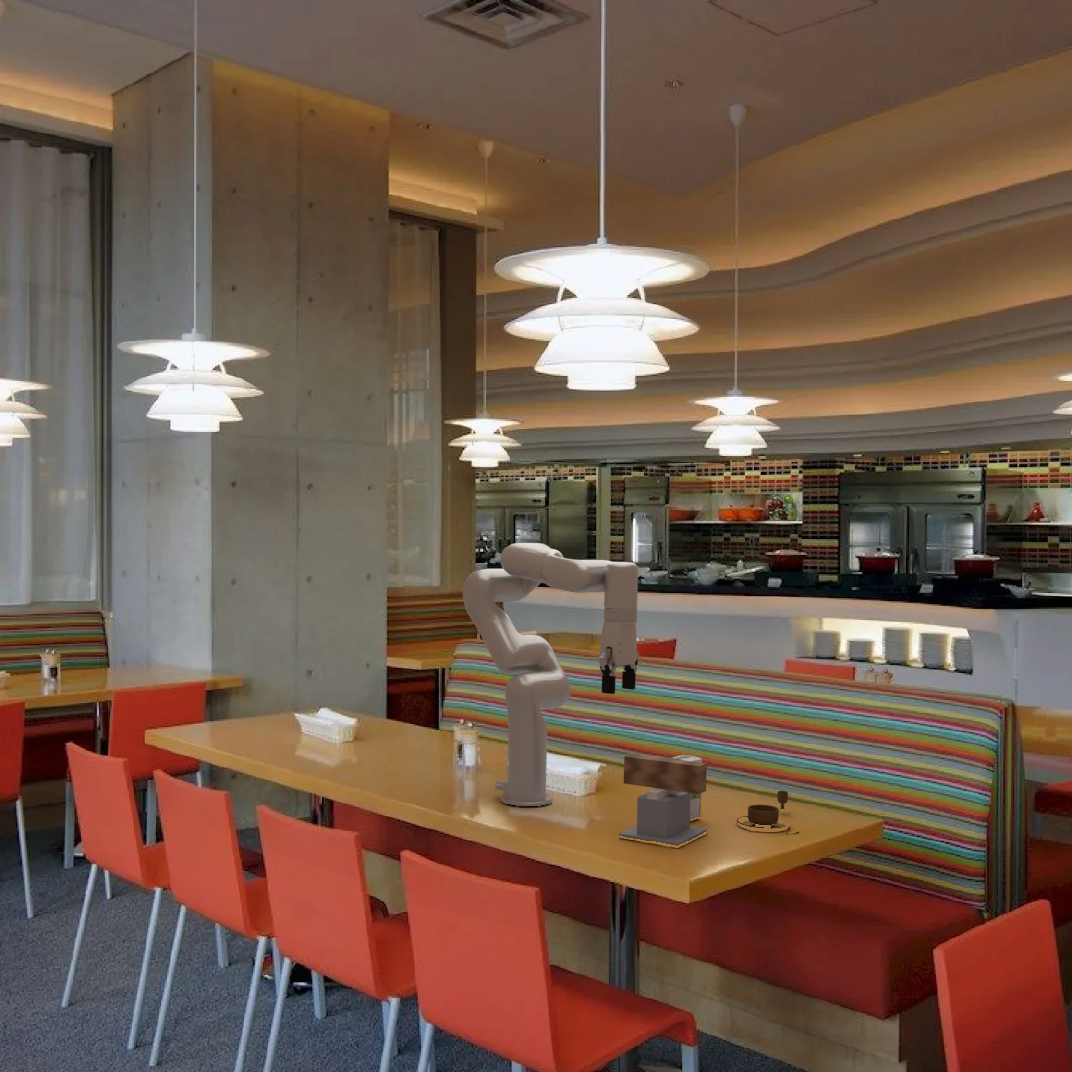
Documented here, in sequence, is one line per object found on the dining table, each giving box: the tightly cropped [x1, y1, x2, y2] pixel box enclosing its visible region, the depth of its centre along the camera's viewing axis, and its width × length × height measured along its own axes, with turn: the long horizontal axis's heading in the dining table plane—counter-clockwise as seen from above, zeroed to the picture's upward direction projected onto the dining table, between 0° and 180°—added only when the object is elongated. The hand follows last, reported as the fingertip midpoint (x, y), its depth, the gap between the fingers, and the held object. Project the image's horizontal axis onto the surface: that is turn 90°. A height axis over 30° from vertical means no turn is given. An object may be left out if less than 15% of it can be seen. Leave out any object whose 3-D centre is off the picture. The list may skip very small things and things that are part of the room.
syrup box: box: [668, 754, 703, 820], centre depth 275 cm, size 6×6×14 cm
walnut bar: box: [623, 753, 708, 794], centre depth 259 cm, size 18×4×6 cm, turn 58°
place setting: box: [736, 790, 789, 828], centre depth 272 cm, size 18×20×6 cm
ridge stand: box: [618, 788, 708, 846], centre depth 259 cm, size 14×15×11 cm
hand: (618, 691), depth 269 cm, fingers open, 9 cm apart
